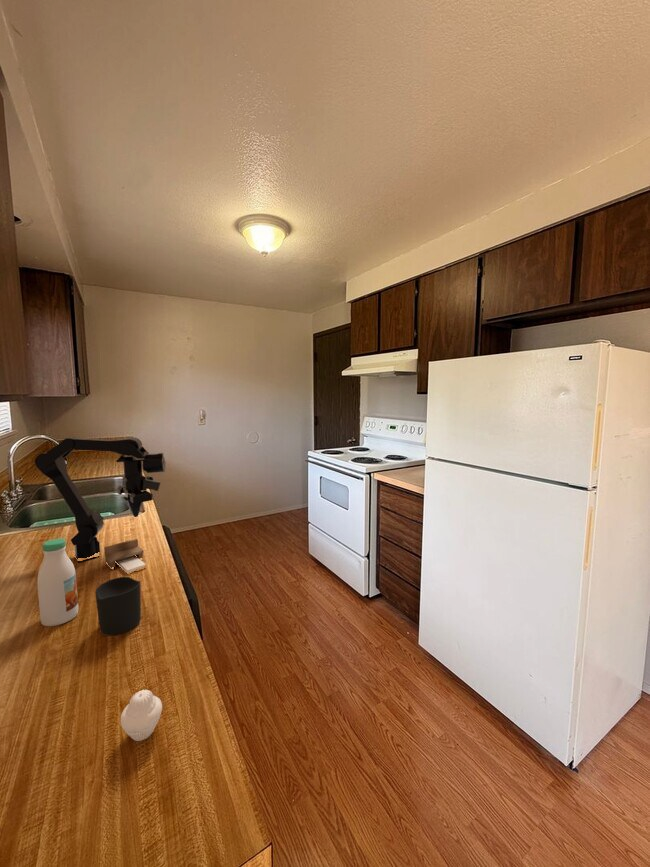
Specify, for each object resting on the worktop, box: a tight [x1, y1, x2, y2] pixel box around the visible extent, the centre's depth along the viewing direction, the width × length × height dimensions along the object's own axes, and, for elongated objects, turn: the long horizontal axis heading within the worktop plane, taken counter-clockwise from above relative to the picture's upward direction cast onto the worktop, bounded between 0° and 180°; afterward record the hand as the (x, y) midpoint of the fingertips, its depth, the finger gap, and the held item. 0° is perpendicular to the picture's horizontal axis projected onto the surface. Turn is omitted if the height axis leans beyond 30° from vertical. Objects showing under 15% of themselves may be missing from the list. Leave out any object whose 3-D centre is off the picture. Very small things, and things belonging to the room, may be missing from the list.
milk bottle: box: [37, 538, 79, 627], centre depth 90 cm, size 8×8×20 cm
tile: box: [116, 555, 147, 573], centre depth 118 cm, size 6×12×2 cm, turn 47°
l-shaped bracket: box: [103, 538, 144, 568], centre depth 121 cm, size 10×6×6 cm, turn 135°
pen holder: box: [94, 576, 142, 636], centre depth 87 cm, size 9×9×10 cm
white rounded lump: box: [120, 689, 163, 742], centre depth 59 cm, size 6×6×7 cm
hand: (135, 516), depth 128 cm, fingers closed
